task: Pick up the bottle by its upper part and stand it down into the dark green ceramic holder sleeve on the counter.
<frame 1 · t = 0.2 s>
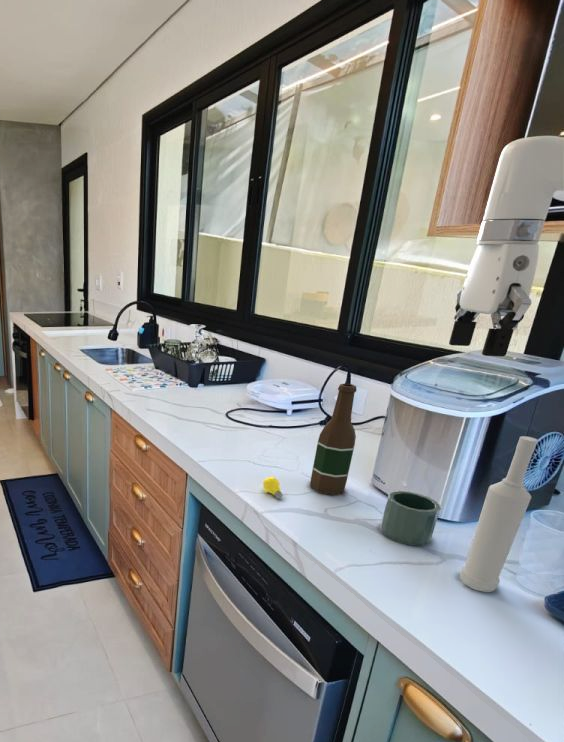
hand: (475, 350, 81), 35 cm above the countertop, tool pointing down, fingers open, 9 cm apart
bottle: (476, 584, 82), on the countertop
beer bottle: (326, 489, 114), on the countertop
holder: (404, 533, 96), on the countertop
light bulb: (272, 494, 111), on the countertop
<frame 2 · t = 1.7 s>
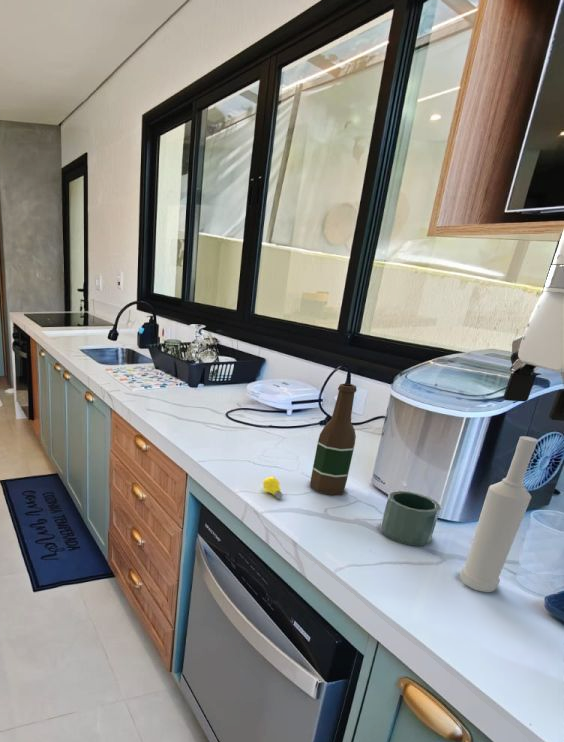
hand: (536, 409, 71), 29 cm above the countertop, tool pointing down, fingers open, 9 cm apart
nothing on the countertop moved.
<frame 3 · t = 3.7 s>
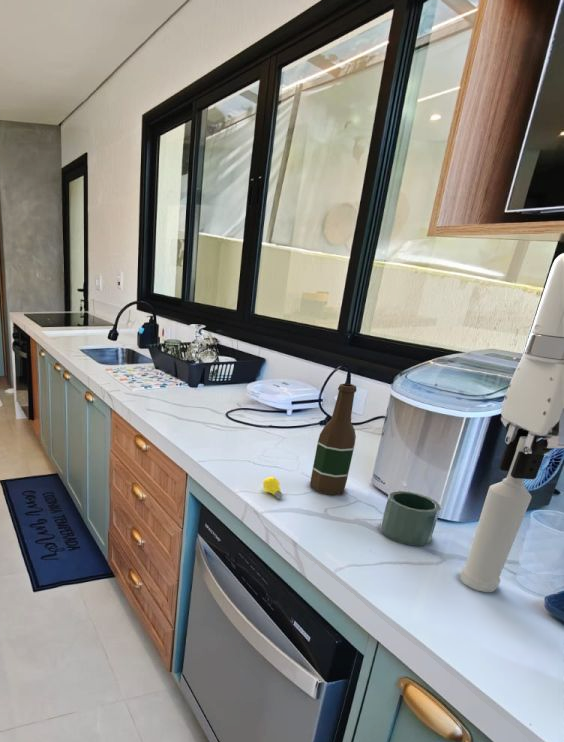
hand: (516, 473, 75), 20 cm above the countertop, tool pointing down, fingers closed on bottle, 2 cm apart
bottle: (477, 584, 82), on the countertop, touching gripper
everything else where it was.
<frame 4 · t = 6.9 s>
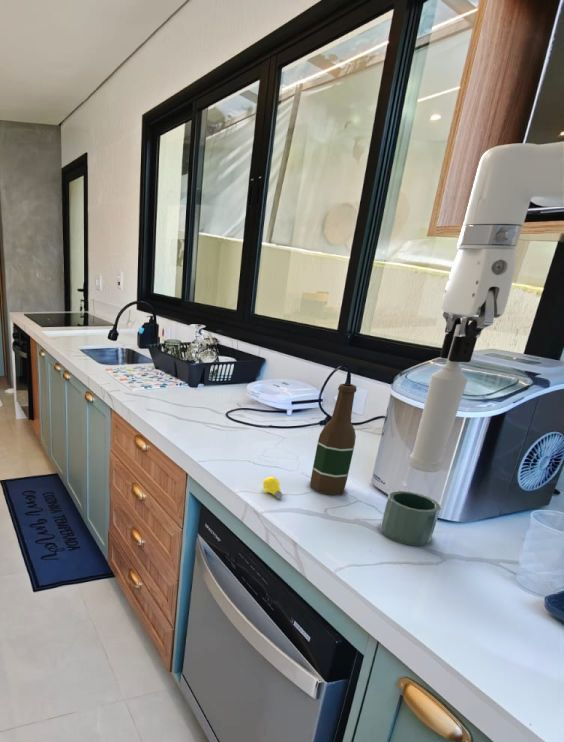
hand: (454, 359, 83), 33 cm above the countertop, tool pointing down, fingers closed on bottle
bottle: (423, 468, 91), point 14 cm above the countertop, touching gripper
everything else where it was.
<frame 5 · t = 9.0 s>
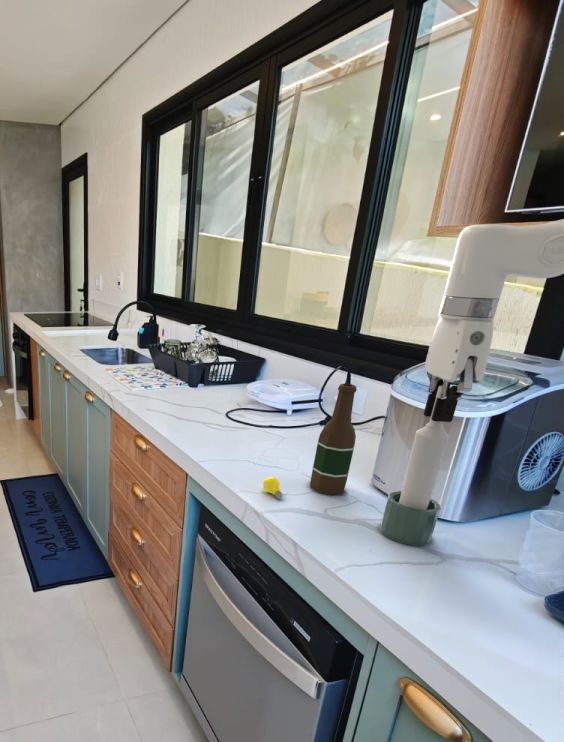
hand: (437, 417, 87), 23 cm above the countertop, tool pointing down, fingers closed on bottle
bottle: (409, 517, 95), point 3 cm above the countertop, touching gripper
everything else where it was.
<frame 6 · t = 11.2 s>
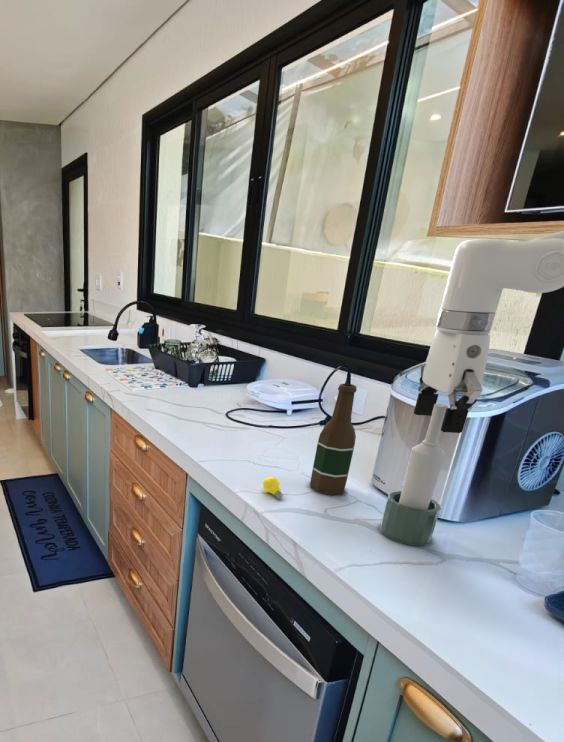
hand: (436, 423, 88), 22 cm above the countertop, tool pointing down, fingers open, 9 cm apart
bottle: (405, 532, 96), resting in holder
everything else where it was.
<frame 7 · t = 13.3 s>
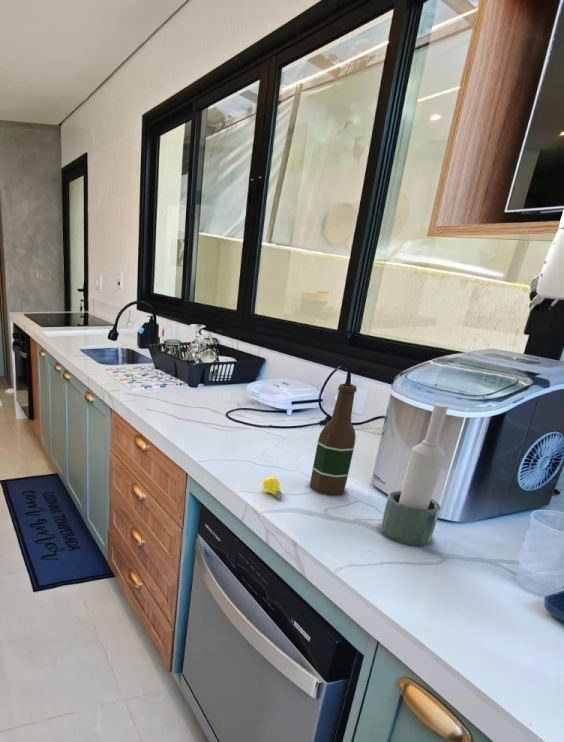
hand: (555, 339, 77), 38 cm above the countertop, tool pointing down, fingers open, 9 cm apart
nothing on the countertop moved.
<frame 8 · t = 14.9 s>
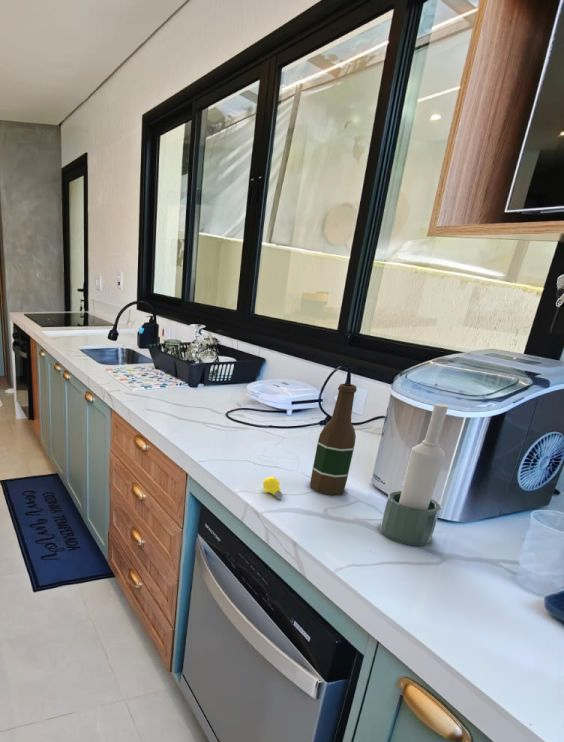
nothing on the countertop moved.
at the end: bottle 0.1 cm off-centre in the holder, point 0.3 cm above the holder's base; bottle tilted 0°; the gripper is holding nothing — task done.
